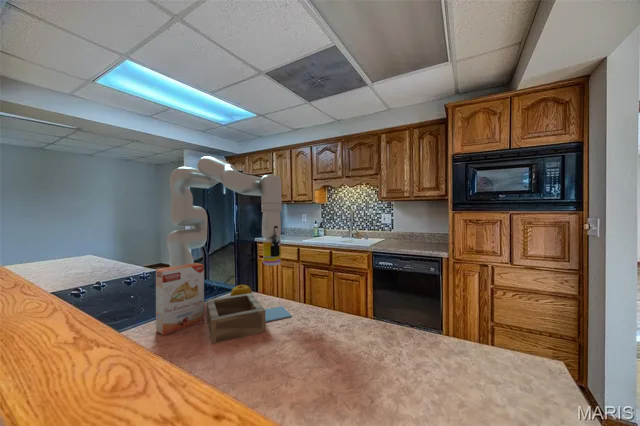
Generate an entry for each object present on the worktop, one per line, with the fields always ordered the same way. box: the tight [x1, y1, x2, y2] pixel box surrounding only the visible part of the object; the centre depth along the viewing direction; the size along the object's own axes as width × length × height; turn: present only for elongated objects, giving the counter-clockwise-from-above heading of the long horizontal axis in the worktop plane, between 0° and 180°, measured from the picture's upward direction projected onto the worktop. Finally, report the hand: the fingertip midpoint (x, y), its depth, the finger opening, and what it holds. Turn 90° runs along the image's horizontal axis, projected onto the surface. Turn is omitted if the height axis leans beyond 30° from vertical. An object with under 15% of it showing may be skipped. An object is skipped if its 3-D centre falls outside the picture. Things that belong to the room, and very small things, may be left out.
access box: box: [206, 292, 267, 344], centre depth 90 cm, size 20×16×7 cm
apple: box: [230, 284, 253, 296], centre depth 108 cm, size 9×8×9 cm
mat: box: [264, 305, 293, 323], centre depth 99 cm, size 11×11×1 cm
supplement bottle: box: [262, 236, 282, 267], centre depth 99 cm, size 7×7×13 cm
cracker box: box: [155, 262, 205, 336], centre depth 90 cm, size 14×6×21 cm, turn 143°
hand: (272, 254), depth 99 cm, fingers closed on supplement bottle, 6 cm apart
